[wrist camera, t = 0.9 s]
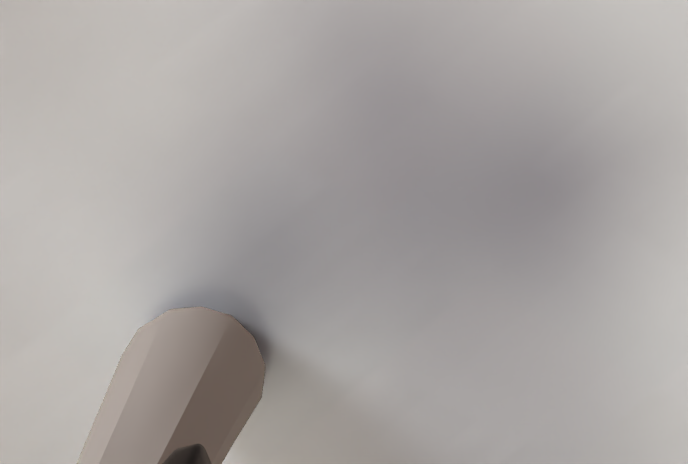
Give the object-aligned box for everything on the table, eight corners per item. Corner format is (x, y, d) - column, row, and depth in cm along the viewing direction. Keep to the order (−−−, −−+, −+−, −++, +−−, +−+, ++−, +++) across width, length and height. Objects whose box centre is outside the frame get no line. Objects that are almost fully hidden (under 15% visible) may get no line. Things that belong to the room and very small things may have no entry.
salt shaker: (224, 266, 23) (107, 447, 10) (294, 368, 24) (268, 648, 11) (114, 332, 23) (-138, 590, 10) (187, 430, 24) (44, 770, 11)
